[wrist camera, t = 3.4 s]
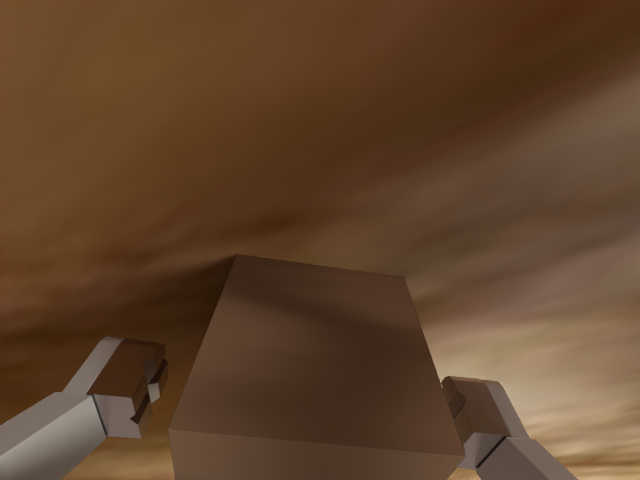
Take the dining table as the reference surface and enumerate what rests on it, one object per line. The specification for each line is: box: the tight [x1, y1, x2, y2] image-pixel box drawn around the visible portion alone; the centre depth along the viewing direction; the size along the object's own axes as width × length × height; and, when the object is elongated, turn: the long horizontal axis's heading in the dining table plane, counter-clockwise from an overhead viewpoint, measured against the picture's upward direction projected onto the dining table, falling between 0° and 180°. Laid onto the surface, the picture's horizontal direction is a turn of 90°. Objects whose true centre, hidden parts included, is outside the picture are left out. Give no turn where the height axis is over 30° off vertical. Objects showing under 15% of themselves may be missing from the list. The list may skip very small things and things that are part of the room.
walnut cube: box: [168, 254, 466, 480], centre depth 9 cm, size 5×5×5 cm
